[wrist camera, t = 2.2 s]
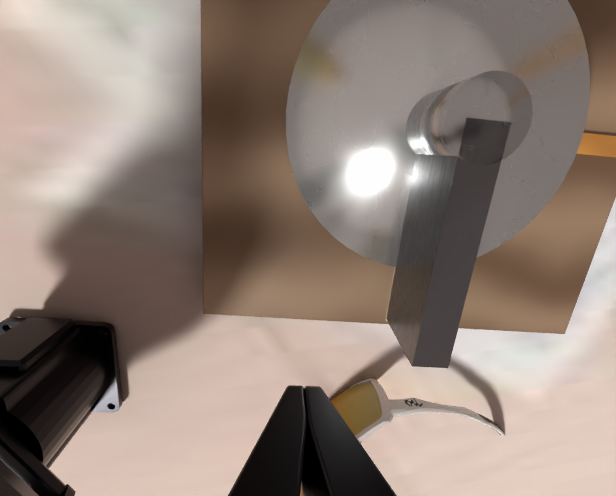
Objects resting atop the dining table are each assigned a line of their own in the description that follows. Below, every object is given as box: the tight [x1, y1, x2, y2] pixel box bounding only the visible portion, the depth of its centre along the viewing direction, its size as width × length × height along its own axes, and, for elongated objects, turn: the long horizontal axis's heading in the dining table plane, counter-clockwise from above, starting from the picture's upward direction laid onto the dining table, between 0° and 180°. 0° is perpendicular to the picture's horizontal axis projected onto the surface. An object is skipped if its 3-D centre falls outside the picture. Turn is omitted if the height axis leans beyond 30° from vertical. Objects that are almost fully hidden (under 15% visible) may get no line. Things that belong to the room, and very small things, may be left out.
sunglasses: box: [300, 378, 505, 496], centre depth 23 cm, size 14×15×5 cm
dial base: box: [201, 0, 616, 334], centre depth 16 cm, size 22×22×2 cm
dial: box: [286, 0, 590, 368], centre depth 14 cm, size 17×14×5 cm
